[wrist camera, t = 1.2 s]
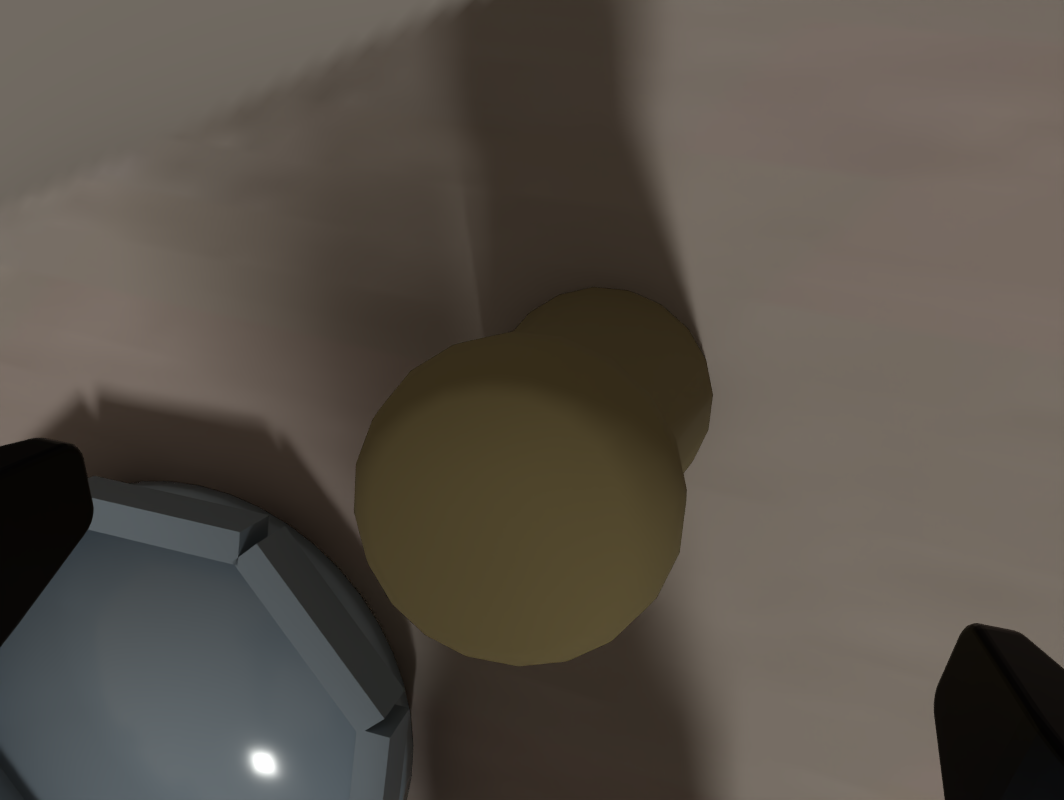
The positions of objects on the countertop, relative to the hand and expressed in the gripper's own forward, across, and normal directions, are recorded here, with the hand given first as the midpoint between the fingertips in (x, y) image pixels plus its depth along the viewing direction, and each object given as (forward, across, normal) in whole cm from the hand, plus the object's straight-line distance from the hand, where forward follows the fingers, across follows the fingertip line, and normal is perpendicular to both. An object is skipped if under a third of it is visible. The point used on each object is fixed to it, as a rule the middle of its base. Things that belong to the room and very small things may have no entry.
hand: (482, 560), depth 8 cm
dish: (+10, +12, +17) cm, 23 cm away
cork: (+13, 0, +4) cm, 14 cm away
